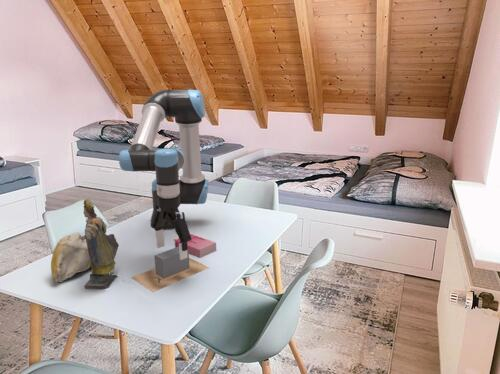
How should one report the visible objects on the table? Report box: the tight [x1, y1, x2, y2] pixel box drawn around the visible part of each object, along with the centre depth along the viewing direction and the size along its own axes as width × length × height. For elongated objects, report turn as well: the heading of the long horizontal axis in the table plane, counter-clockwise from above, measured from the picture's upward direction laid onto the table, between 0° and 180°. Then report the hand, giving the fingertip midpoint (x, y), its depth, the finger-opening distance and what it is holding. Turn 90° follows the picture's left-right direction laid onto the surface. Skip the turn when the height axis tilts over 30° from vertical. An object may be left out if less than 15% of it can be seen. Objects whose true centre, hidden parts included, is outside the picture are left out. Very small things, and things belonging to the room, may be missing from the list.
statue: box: [80, 198, 120, 290], centre depth 134 cm, size 15×11×30 cm
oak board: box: [130, 257, 210, 293], centre depth 141 cm, size 24×14×1 cm, turn 136°
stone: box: [50, 231, 91, 283], centre depth 145 cm, size 15×14×25 cm
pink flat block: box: [173, 233, 217, 259], centre depth 162 cm, size 9×5×20 cm
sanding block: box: [154, 247, 190, 281], centre depth 140 cm, size 11×5×8 cm, turn 136°
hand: (171, 252), depth 139 cm, fingers open, 13 cm apart
